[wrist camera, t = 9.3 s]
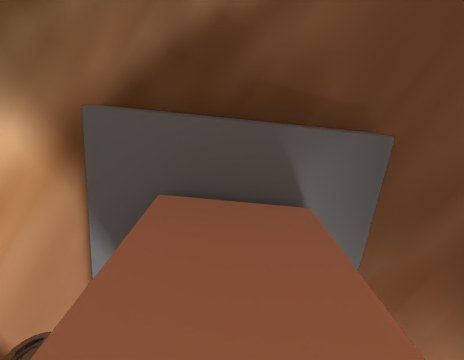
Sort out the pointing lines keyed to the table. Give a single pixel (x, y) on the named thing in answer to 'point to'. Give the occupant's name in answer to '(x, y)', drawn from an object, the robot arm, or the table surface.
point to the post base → (227, 170)
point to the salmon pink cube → (227, 292)
